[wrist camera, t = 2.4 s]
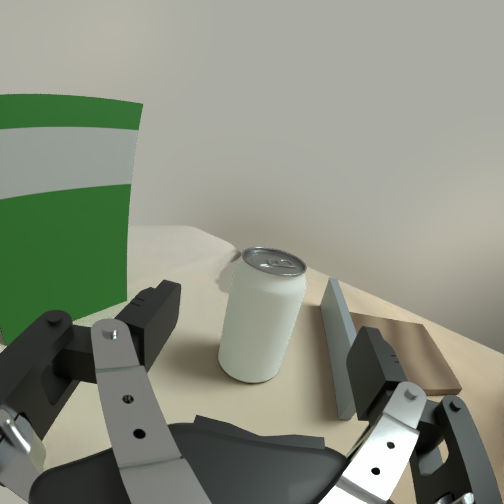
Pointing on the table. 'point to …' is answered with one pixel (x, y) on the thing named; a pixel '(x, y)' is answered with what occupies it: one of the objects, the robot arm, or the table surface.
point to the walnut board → (414, 353)
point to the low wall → (339, 345)
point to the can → (261, 313)
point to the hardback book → (63, 205)
